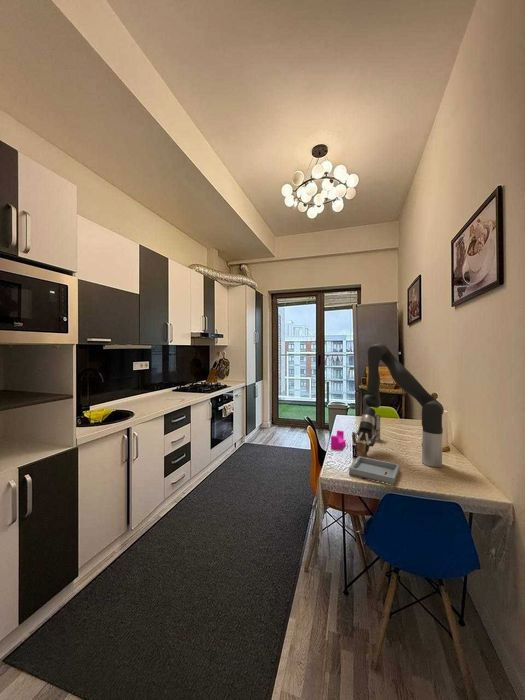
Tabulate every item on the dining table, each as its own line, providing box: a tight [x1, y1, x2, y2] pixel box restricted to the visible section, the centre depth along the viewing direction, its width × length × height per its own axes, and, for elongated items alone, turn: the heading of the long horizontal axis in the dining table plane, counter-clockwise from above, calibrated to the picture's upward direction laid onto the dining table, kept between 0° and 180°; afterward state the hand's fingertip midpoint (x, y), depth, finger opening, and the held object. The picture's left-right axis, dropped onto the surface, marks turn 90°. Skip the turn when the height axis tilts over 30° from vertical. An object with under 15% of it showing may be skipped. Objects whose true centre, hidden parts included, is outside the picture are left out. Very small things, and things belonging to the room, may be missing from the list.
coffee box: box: [369, 414, 381, 442], centre depth 196 cm, size 9×6×16 cm
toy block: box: [330, 429, 347, 451], centre depth 182 cm, size 15×6×8 cm, turn 150°
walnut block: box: [356, 440, 368, 459], centre depth 162 cm, size 4×4×9 cm
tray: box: [348, 456, 401, 486], centre depth 143 cm, size 20×18×4 cm
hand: (361, 451), depth 160 cm, fingers closed on walnut block, 4 cm apart
